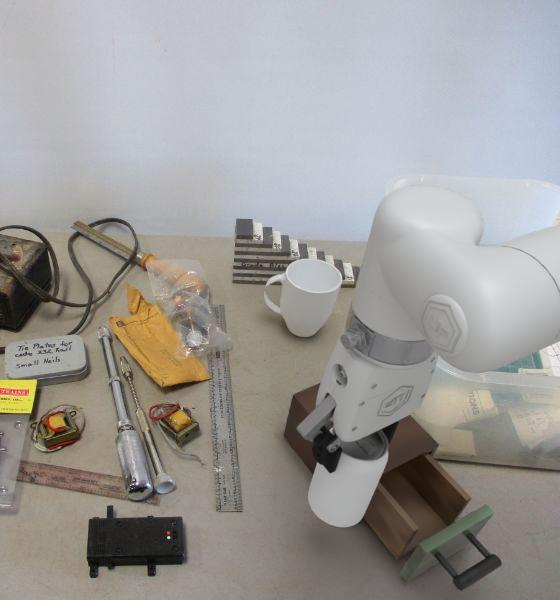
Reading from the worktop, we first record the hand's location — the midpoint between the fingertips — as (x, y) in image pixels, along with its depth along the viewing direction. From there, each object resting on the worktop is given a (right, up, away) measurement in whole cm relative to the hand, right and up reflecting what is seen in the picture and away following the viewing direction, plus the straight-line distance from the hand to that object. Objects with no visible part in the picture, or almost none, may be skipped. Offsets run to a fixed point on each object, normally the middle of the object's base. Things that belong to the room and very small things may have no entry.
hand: (350, 447), depth 62 cm
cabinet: (+6, -7, +20) cm, 22 cm away
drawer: (+11, -13, +12) cm, 21 cm away
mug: (+3, +11, +40) cm, 41 cm away
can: (0, -8, +6) cm, 10 cm away
